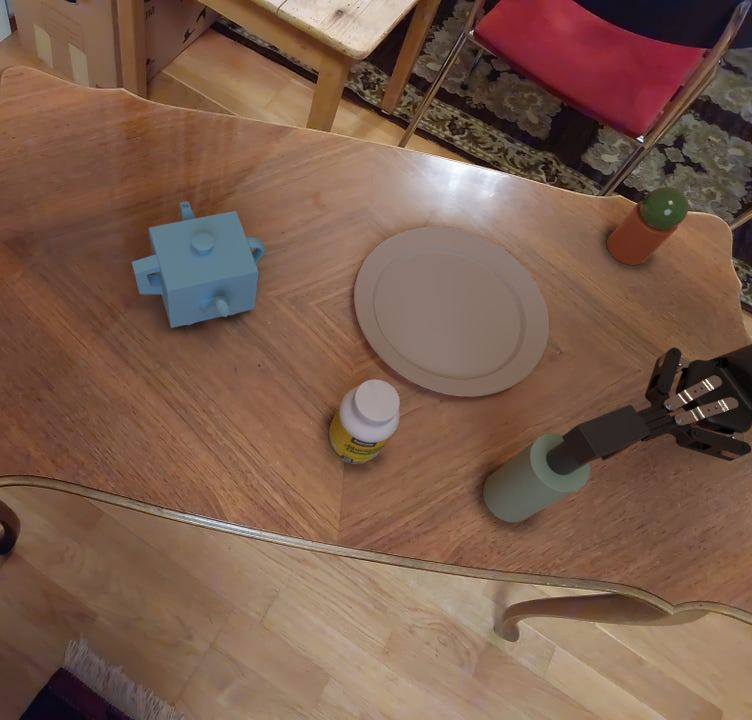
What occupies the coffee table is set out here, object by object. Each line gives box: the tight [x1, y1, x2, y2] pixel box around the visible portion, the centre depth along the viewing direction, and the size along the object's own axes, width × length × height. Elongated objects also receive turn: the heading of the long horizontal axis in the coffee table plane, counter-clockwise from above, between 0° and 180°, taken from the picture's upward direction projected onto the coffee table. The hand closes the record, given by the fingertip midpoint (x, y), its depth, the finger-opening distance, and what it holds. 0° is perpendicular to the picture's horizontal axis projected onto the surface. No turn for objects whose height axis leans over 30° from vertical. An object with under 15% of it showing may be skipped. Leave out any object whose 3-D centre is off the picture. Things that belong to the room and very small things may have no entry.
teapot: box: [131, 200, 266, 329], centre depth 79 cm, size 16×18×11 cm
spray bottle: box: [482, 404, 650, 523], centre depth 67 cm, size 8×6×20 cm
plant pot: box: [606, 186, 690, 266], centre depth 89 cm, size 6×6×11 cm
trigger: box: [600, 440, 641, 461], centre depth 65 cm, size 1×3×5 cm, turn 21°
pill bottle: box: [327, 378, 401, 465], centre depth 72 cm, size 6×6×12 cm
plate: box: [353, 226, 550, 397], centre depth 85 cm, size 26×26×2 cm
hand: (633, 430), depth 65 cm, fingers closed
